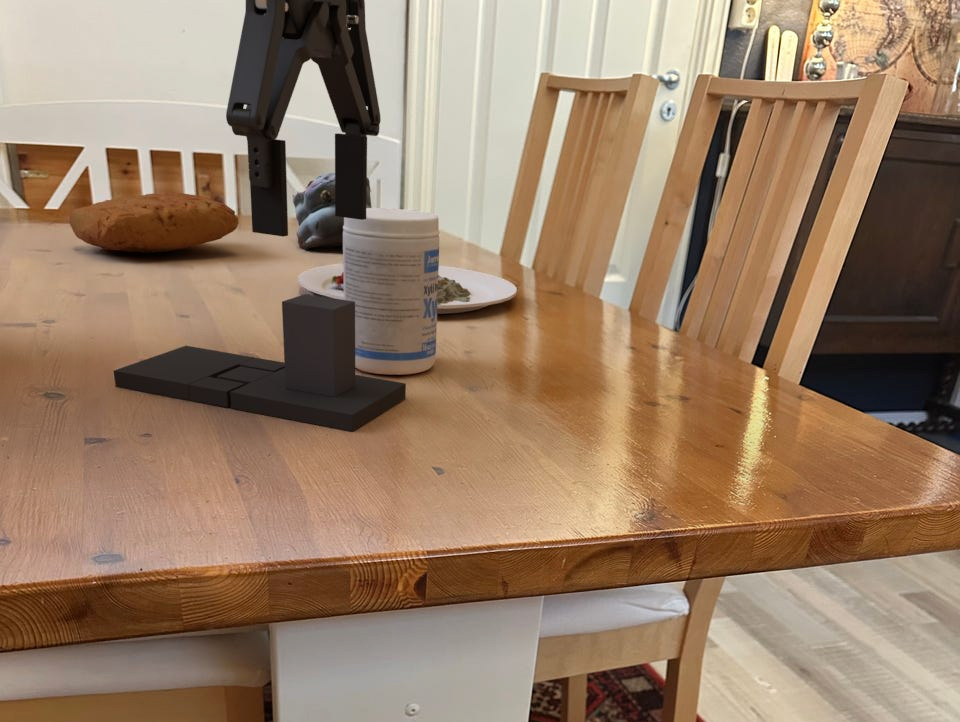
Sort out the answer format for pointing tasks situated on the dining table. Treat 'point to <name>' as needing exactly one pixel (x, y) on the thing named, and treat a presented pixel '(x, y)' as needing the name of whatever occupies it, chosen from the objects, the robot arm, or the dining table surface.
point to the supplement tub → (393, 289)
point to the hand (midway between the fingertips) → (313, 225)
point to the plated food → (454, 287)
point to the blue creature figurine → (320, 213)
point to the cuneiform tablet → (153, 222)
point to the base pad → (190, 374)
